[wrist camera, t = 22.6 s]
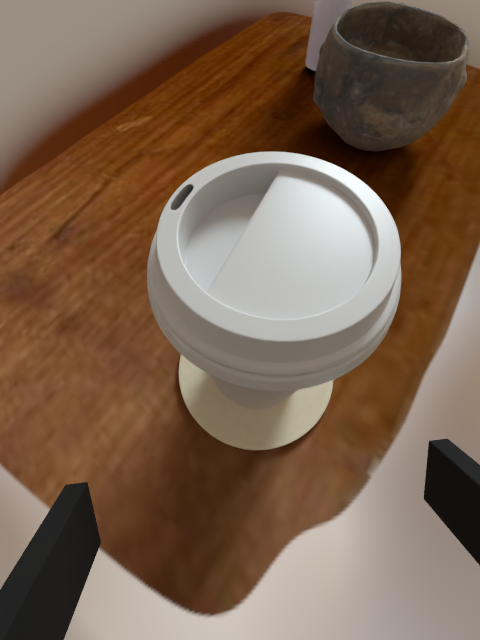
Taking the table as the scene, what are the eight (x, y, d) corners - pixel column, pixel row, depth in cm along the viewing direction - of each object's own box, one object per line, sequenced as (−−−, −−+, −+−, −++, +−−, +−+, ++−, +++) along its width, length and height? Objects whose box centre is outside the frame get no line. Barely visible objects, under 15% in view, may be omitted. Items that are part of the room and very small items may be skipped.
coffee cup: (257, 292, 26) (274, 107, 13) (343, 369, 23) (487, 235, 10) (169, 363, 23) (72, 223, 10) (254, 462, 20) (281, 457, 7)
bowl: (371, 193, 32) (422, 88, 23) (276, 124, 38) (288, 17, 29) (448, 142, 36) (517, 34, 27) (353, 86, 41) (384, -20, 32)
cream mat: (192, 469, 21) (191, 469, 20) (170, 317, 26) (169, 314, 25) (355, 428, 22) (358, 427, 21) (303, 290, 27) (305, 287, 26)
